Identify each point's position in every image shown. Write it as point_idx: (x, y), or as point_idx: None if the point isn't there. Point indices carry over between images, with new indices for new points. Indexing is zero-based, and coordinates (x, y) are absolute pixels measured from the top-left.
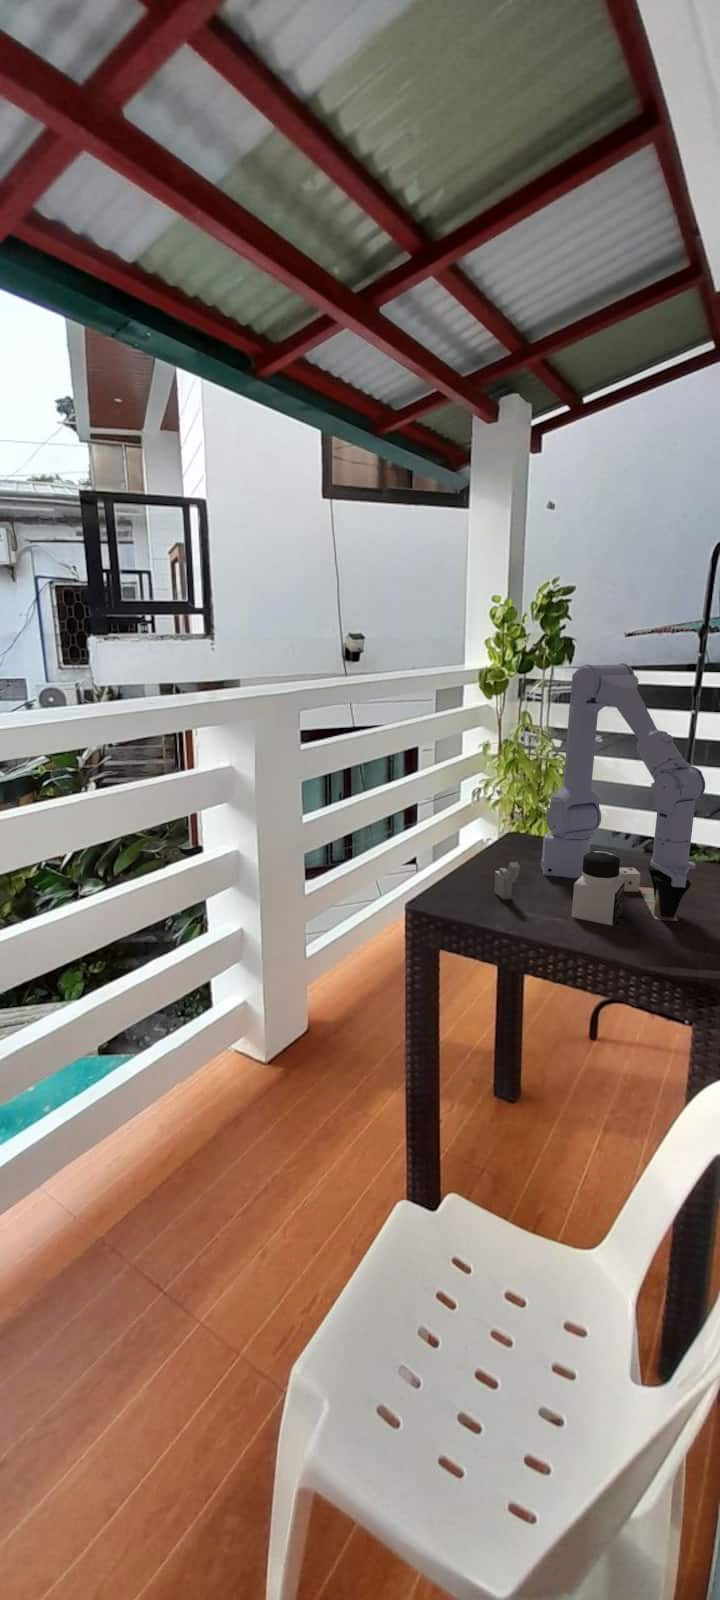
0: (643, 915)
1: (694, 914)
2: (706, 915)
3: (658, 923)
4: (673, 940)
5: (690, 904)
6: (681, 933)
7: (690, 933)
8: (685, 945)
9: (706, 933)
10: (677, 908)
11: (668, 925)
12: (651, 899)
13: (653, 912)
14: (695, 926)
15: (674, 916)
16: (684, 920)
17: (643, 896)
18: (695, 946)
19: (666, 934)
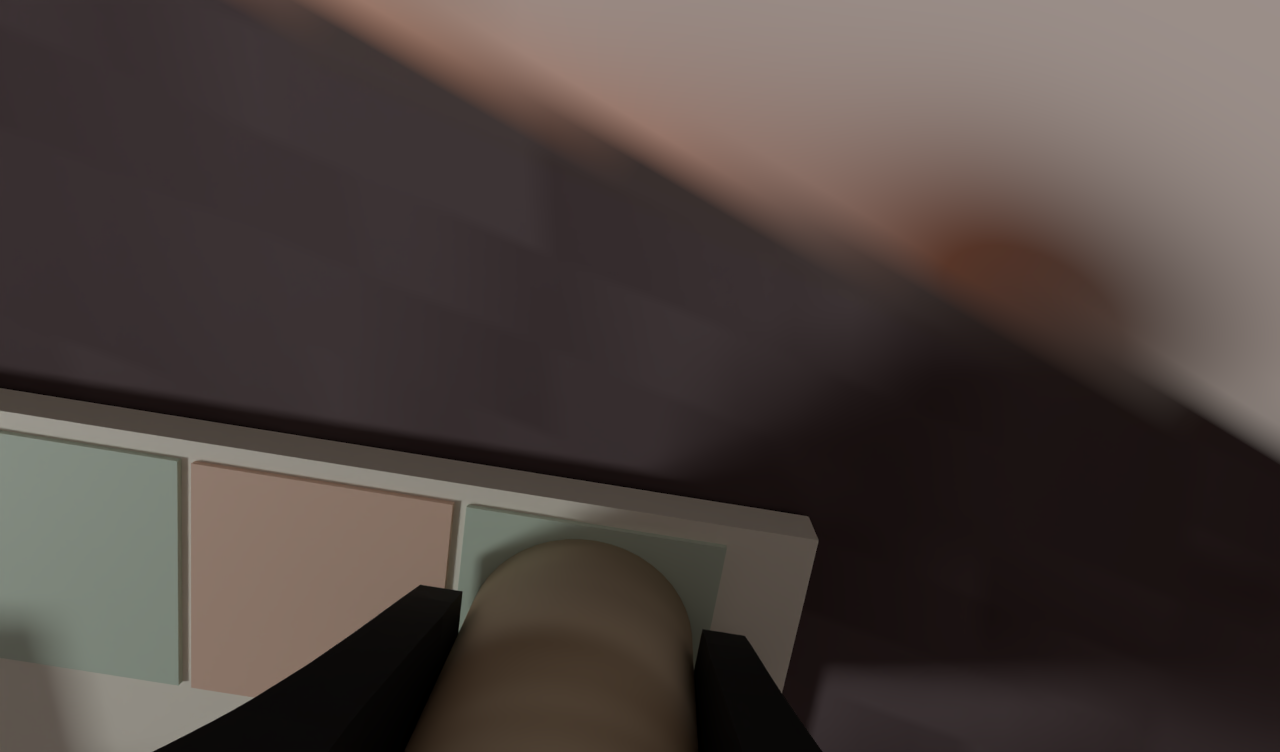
0: None
1: (370, 192)
2: (385, 43)
3: None
4: (1081, 694)
5: (26, 101)
6: (922, 558)
7: (928, 469)
8: (1210, 632)
9: (940, 293)
10: (785, 699)
11: None
12: (84, 603)
13: None
14: (740, 335)
15: (645, 571)
16: (569, 389)
17: (3, 654)
18: (1249, 549)
19: (936, 704)
